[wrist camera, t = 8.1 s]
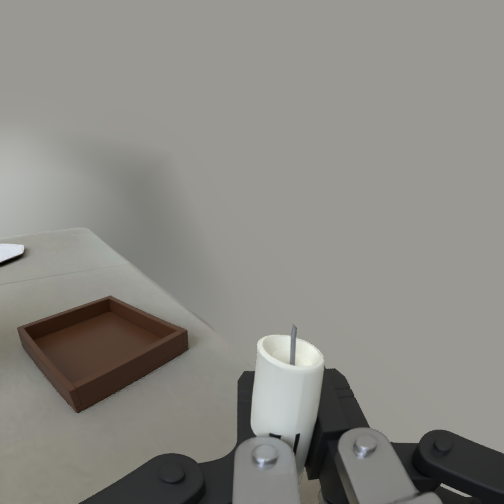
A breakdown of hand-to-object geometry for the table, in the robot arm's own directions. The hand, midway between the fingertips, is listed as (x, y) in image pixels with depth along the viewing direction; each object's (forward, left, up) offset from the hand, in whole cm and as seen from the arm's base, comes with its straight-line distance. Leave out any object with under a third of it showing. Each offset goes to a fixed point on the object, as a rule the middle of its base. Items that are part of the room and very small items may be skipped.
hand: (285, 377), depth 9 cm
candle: (+3, +1, -12) cm, 13 cm away
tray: (-6, -25, -13) cm, 29 cm away
